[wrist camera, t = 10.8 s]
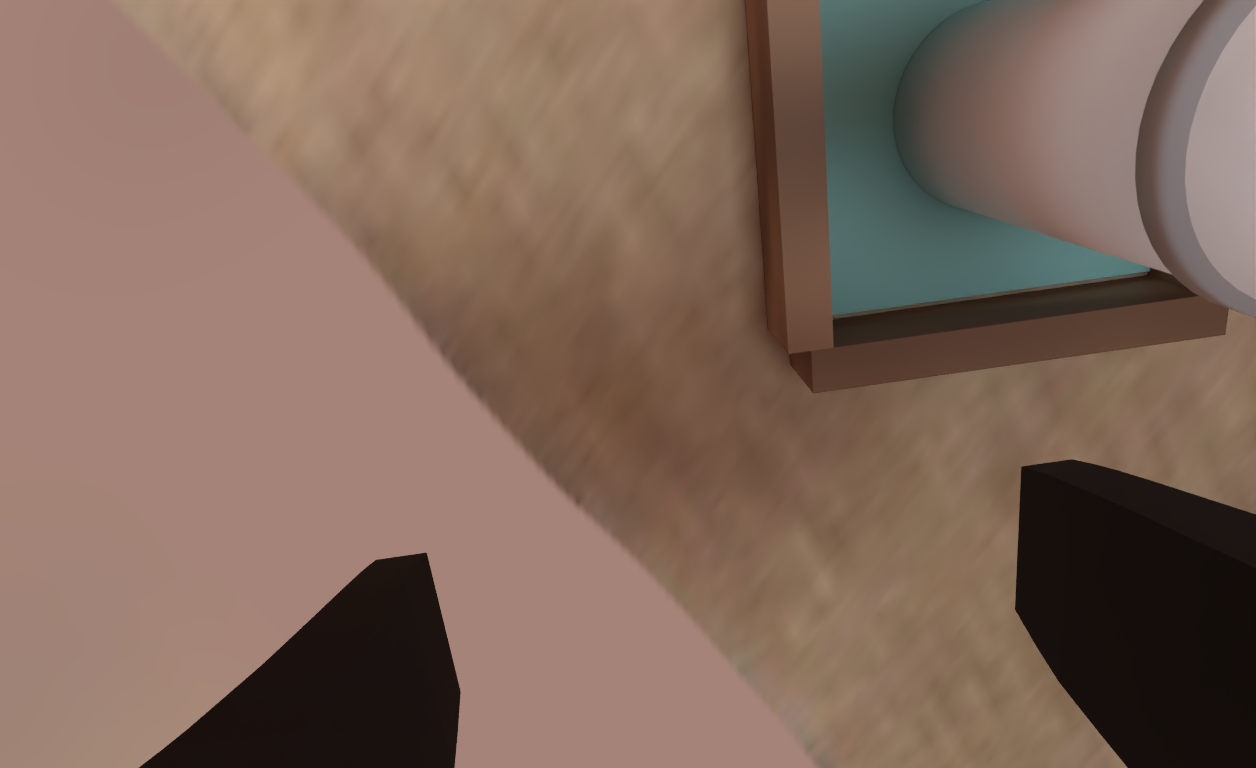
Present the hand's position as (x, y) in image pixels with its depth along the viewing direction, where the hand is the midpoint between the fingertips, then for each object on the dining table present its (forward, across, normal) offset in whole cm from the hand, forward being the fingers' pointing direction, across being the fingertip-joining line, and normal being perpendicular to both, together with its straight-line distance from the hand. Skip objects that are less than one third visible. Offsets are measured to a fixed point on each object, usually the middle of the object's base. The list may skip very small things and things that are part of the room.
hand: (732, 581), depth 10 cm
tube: (+10, -8, -4) cm, 14 cm away
